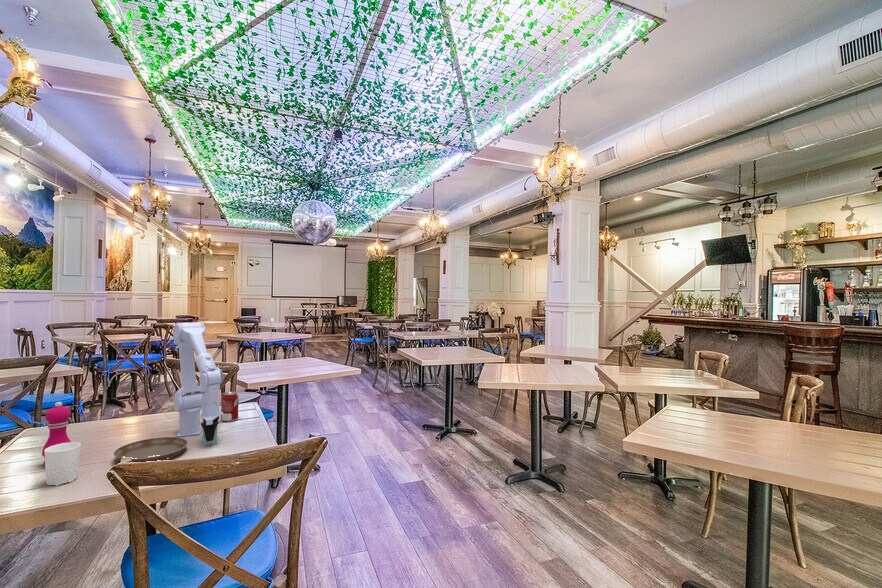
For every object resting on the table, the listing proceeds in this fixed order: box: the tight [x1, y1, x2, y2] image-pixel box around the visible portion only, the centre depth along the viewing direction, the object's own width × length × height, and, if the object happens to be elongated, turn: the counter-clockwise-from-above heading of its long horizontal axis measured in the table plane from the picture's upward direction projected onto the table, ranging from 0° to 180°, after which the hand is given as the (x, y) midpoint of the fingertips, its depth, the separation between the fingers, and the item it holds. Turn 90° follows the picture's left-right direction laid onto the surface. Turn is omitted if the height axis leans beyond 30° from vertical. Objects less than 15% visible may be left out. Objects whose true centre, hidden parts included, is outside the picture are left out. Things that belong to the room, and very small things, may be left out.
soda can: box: [220, 391, 240, 423], centre depth 180 cm, size 7×7×12 cm
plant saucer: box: [113, 436, 188, 462], centre depth 140 cm, size 21×21×3 cm
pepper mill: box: [41, 401, 72, 468], centre depth 132 cm, size 7×7×20 cm
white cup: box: [44, 441, 82, 486], centre depth 120 cm, size 8×8×10 cm
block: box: [202, 426, 218, 446], centre depth 153 cm, size 4×4×5 cm
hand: (210, 438), depth 153 cm, fingers closed on block, 4 cm apart
